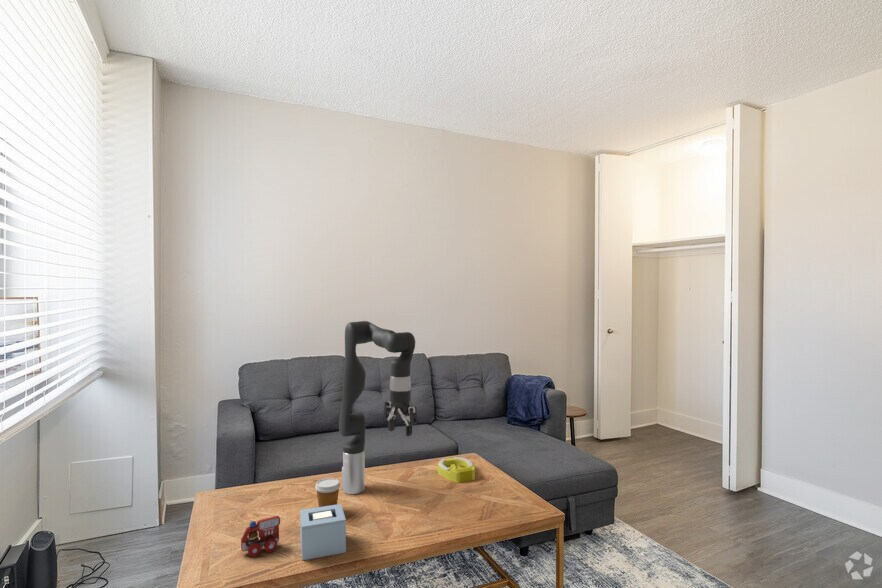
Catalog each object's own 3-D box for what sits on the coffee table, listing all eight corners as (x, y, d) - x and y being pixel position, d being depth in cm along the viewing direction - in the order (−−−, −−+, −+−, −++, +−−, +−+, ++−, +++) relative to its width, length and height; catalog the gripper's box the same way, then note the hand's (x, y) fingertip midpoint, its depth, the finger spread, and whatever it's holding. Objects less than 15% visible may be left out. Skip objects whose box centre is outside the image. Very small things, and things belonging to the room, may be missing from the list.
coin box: (302, 560, 153) (301, 526, 153) (300, 541, 164) (300, 510, 164) (345, 552, 158) (345, 519, 157) (341, 534, 169) (341, 503, 169)
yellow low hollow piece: (449, 485, 211) (449, 473, 211) (432, 468, 230) (432, 458, 230) (482, 479, 217) (482, 468, 217) (463, 463, 236) (463, 453, 236)
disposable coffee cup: (327, 521, 178) (327, 489, 178) (310, 514, 183) (309, 484, 183) (345, 511, 186) (345, 480, 186) (328, 505, 191) (327, 475, 191)
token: (330, 539, 164) (330, 510, 164) (332, 545, 160) (332, 515, 160) (313, 542, 162) (312, 513, 161) (314, 548, 158) (314, 519, 158)
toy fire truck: (240, 549, 160) (239, 519, 159) (278, 540, 166) (278, 510, 165) (242, 560, 154) (241, 528, 153) (281, 549, 159) (281, 519, 159)
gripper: (378, 387, 171) (378, 431, 171) (407, 392, 162) (407, 440, 162) (393, 383, 177) (393, 426, 177) (422, 389, 168) (421, 434, 168)
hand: (400, 433), depth 170 cm, fingers open, 8 cm apart
